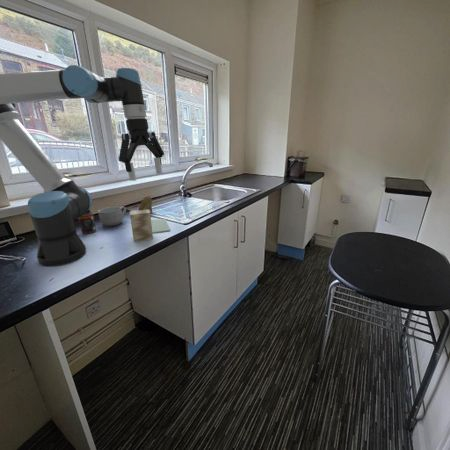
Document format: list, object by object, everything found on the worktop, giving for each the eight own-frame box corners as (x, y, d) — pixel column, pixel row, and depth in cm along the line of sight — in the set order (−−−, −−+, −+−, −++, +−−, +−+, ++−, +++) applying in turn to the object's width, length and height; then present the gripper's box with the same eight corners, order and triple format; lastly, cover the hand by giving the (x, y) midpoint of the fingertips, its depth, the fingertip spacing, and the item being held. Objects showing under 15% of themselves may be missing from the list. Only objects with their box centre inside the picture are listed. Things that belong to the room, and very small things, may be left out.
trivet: (141, 234, 109) (141, 233, 108) (139, 222, 123) (139, 221, 123) (170, 231, 113) (170, 229, 113) (165, 219, 128) (165, 218, 128)
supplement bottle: (99, 230, 113) (94, 207, 109) (87, 235, 108) (81, 211, 104) (91, 228, 116) (86, 205, 112) (79, 232, 111) (73, 209, 107)
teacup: (106, 229, 114) (103, 213, 111) (97, 224, 121) (94, 209, 118) (133, 222, 124) (131, 207, 121) (123, 217, 131) (121, 203, 128)
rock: (139, 214, 129) (156, 208, 134) (132, 200, 129) (150, 195, 135) (136, 221, 138) (153, 215, 143) (130, 207, 138) (146, 202, 144)
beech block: (133, 241, 102) (129, 214, 98) (133, 237, 107) (129, 211, 102) (153, 238, 105) (150, 212, 101) (151, 234, 109) (149, 209, 105)
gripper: (112, 117, 76) (127, 184, 84) (167, 117, 95) (175, 171, 103) (98, 119, 80) (113, 182, 87) (154, 119, 99) (162, 171, 107)
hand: (147, 176), depth 95 cm, fingers open, 13 cm apart
